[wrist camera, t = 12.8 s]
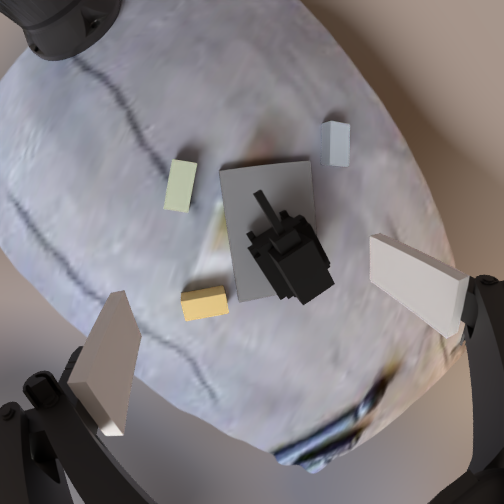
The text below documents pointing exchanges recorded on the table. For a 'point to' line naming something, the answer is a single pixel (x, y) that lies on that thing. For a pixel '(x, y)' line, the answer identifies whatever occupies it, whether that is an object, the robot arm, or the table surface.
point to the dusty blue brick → (335, 144)
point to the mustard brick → (204, 303)
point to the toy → (290, 255)
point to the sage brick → (180, 185)
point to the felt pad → (262, 214)
